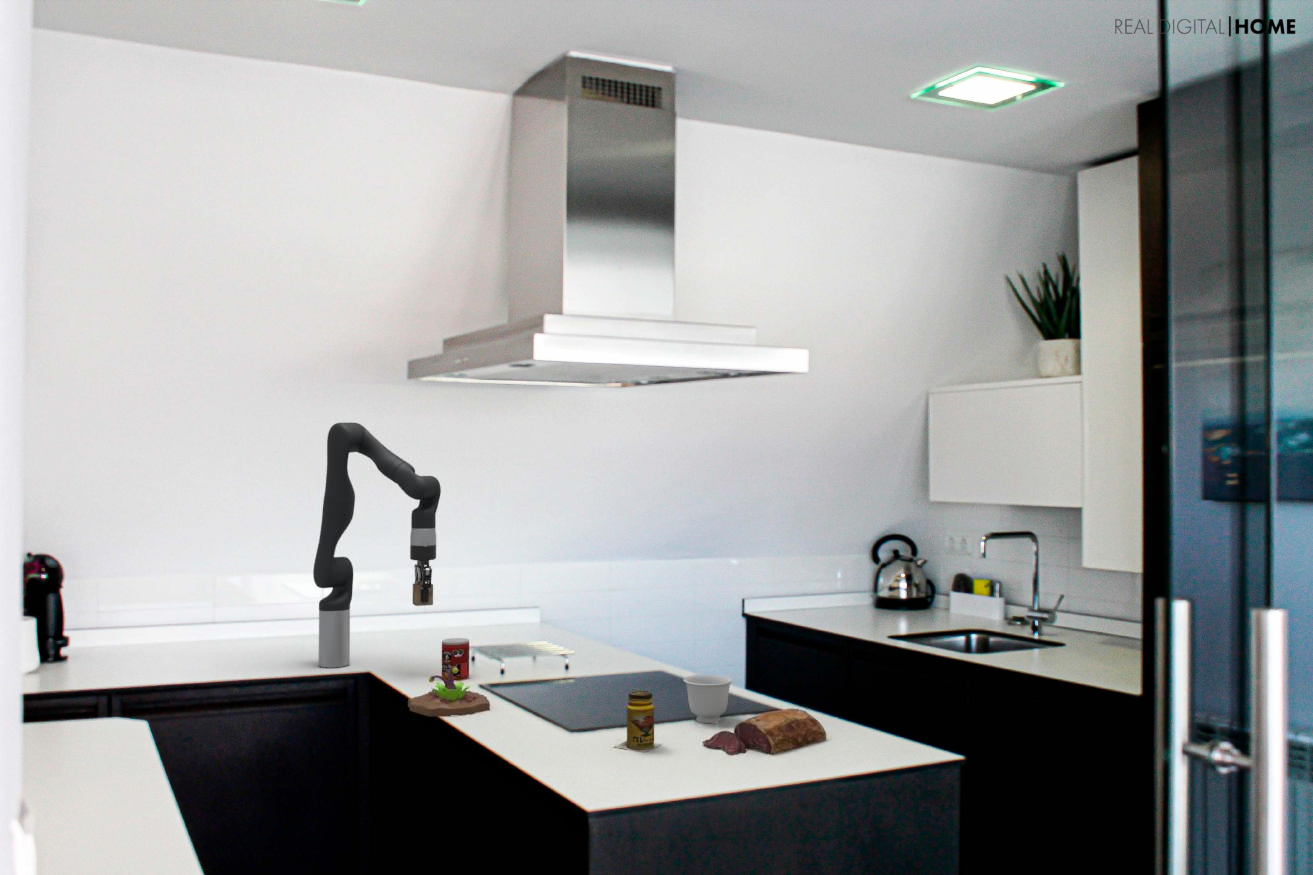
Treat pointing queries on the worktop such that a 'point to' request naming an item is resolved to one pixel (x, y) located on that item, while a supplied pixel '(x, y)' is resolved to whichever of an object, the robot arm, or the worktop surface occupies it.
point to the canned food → (455, 657)
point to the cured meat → (770, 733)
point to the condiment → (640, 722)
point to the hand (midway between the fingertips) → (422, 600)
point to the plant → (449, 699)
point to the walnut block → (418, 595)
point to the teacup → (708, 696)
